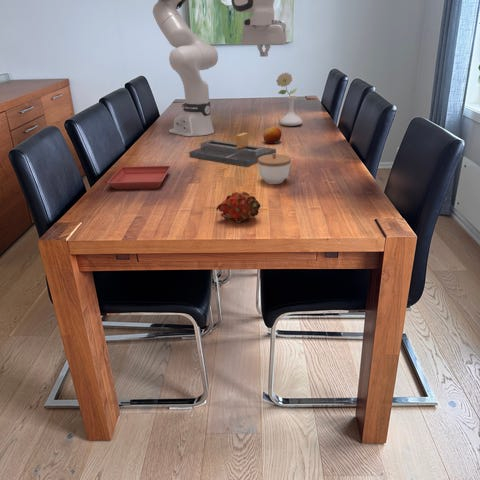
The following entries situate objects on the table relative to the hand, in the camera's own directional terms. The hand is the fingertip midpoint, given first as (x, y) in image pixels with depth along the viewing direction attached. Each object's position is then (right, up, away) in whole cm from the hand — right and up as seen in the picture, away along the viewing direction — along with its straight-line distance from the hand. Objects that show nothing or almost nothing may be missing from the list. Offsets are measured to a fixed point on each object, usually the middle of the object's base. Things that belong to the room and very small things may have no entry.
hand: (263, 56), depth 199 cm
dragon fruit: (-10, -73, -71) cm, 103 cm away
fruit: (+4, -36, +4) cm, 36 cm away
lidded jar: (+1, -58, -43) cm, 72 cm away
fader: (-9, -43, -16) cm, 47 cm away
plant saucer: (-44, -58, -38) cm, 83 cm away
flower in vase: (+14, -21, +35) cm, 43 cm away
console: (-13, -44, -12) cm, 48 cm away
